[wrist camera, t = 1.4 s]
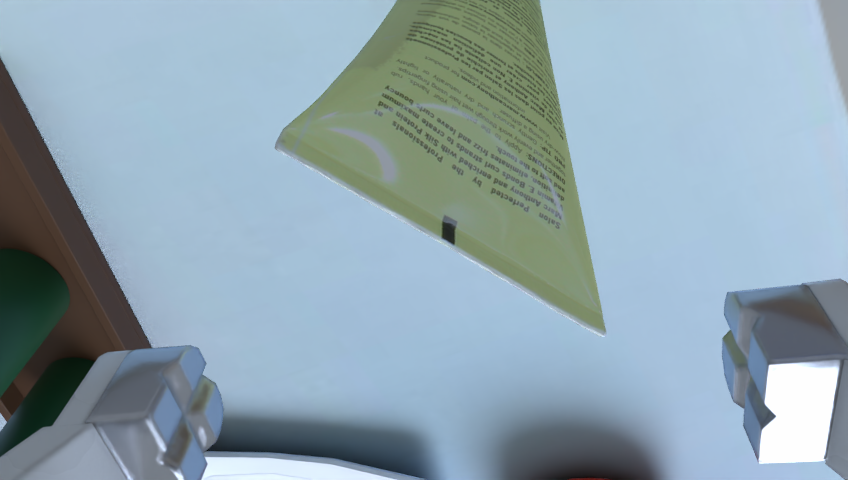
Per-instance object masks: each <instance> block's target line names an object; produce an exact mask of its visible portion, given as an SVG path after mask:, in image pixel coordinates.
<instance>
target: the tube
mask: <svg viewBox="0 0 848 480" xmlns="http://www.w3.org/2000/svg"><path fill="white" fill-rule="evenodd" d="M275 149H276V150H277V151H279V152H281V153H282V154H284V155H286V156H289V157H291V158H293V159H294V160H296V161H298V162H299V163H301V164H303V165H304V166H306V167H308V168H309V169H311V170H313V171H315V172H317V173H318V174H320V175H322V176H324V177H325V178H327V179H329V180H331V181H333V182H334V183H336V184H338V185H340V186H342V187H343V188H345V189H347V190H349V191H350V192H352V193H354V194H356V195H357V196H359V197H361V198H362V199H364V200H366V201H367V202H369V203H371V204H372V205H374V206H376V207H378V208H379V209H381V210H383V211H385V212H386V213H388V214H390V215H392V216H393V217H395V218H397V219H398V220H400V221H402V222H404V223H405V224H407V225H409V226H411V227H412V228H414V229H416V230H418V231H420V232H422V233H424V234H425V235H427V236H429V237H431V238H433V239H434V240H436V241H438V242H439V243H441V244H443V245H445V246H446V247H448V248H450V249H452V250H453V251H455V252H457V253H458V254H460V255H461V256H463V257H465V258H466V259H468V260H470V261H471V262H473V263H475V264H477V265H478V266H480V267H482V268H483V269H485V270H486V271H488V272H490V273H491V274H493V275H495V276H497V277H498V278H500V279H502V280H504V281H505V282H507V283H509V284H511V285H512V286H514V287H516V288H517V289H519V290H521V291H522V292H524V293H526V294H528V295H529V296H531V297H532V298H534V299H536V300H537V301H539V302H541V303H542V304H544V305H545V306H547V307H549V308H550V309H552V310H554V311H555V312H557V313H559V314H560V315H562V316H564V317H566V318H568V319H570V320H572V321H573V322H575V323H577V324H578V325H580V326H582V327H583V328H585V329H587V330H589V331H591V332H593V333H595V334H596V335H598V336H600V337H604V336H606V328H605V324H604V320H603V315H602V309H601V304H600V299H599V294H598V289H597V285H596V280H595V275H594V270H593V265H592V260H591V255H590V250H589V245H588V241H587V236H586V231H585V226H584V221H583V217H582V212H581V207H580V202H579V197H578V192H577V187H576V182H575V177H574V173H573V168H572V163H571V158H570V153H569V148H568V143H567V138H566V133H565V129H564V124H563V119H562V114H561V109H560V104H559V99H558V94H557V89H556V84H555V79H554V74H553V69H552V64H551V59H550V54H549V49H548V43H547V38H546V33H545V27H544V22H543V17H542V12H541V6H540V1H539V0H397V1H396V3H395V5H394V6H393V8H392V9H391V11H390V12H389V13H388V15H387V16H386V18H385V19H384V21H383V22H382V23H381V25H380V26H379V28H378V29H377V30H376V32H375V33H374V35H373V36H372V37H371V38H370V40H369V41H368V42H367V43H366V45H365V46H364V47H363V48H362V50H361V51H360V52H359V53H358V55H357V56H356V57H355V58H354V60H353V61H352V62H351V63H350V64H349V65H348V66H347V67H346V68H345V70H344V71H343V72H342V73H341V74H340V75H339V76H338V77H337V79H336V80H335V81H334V82H333V83H332V84H331V85H330V86H329V88H328V89H327V90H326V91H325V92H324V93H323V94H322V95H321V96H320V97H319V98H318V99H317V100H316V101H315V102H314V103H313V104H312V105H311V106H310V107H309V108H308V109H306V110H305V111H304V112H303V113H302V114H300V115H299V116H298V117H297V118H296V119H294V120H293V121H292V122H291V123H290V124H289V125H287V126H286V127H285V128H284V129H283V130H282V132H281V134H280V136H279V138H278V140H277V141H276V144H275Z"/></svg>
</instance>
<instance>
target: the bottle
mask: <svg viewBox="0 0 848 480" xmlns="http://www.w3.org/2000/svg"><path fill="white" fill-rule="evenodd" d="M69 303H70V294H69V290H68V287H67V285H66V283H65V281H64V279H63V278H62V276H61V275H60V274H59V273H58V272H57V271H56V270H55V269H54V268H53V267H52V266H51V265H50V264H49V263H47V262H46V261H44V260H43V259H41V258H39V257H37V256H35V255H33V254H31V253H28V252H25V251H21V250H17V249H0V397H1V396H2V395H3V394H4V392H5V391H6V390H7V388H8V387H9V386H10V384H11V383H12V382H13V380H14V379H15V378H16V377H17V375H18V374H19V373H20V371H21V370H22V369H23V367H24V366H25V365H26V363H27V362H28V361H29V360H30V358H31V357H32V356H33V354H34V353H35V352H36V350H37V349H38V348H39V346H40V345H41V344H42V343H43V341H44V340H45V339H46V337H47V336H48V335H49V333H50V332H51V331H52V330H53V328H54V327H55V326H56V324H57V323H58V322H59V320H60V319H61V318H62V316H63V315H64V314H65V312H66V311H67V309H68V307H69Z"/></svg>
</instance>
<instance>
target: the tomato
mask: <svg viewBox="0 0 848 480" xmlns="http://www.w3.org/2000/svg"><path fill="white" fill-rule="evenodd" d="M568 480H611V479H603V478H571V479H568Z"/></svg>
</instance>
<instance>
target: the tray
mask: <svg viewBox="0 0 848 480" xmlns="http://www.w3.org/2000/svg"><path fill="white" fill-rule="evenodd" d="M0 249H17V250H21V251H25V252H28V253H31V254H33V255H35V256H37V257H39V258H41V259H43V260H44V261H46V262H47V263H49V264H50V265H51V266H52V267H53V268H54V269H55V270H56V271H57V272H58V273H59V274H60V275H61V276H62V278H63V279H64V281H65V283H66V285H67V287H68V290H69V294H70V303H69V307H68V309H67V311H66V312H65V314H64V315H63V316H62V318H61V319H60V320H59V322H58V323H57V324H56V326H55V327H54V328H53V330H52V331H51V332H50V333H49V335H48V336H47V337H46V339H45V340H44V341H43V343H42V344H41V345H40V346H39V348H38V349H37V350H36V352H35V353H34V354H33V356H32V357H31V358H30V360H29V361H28V362H27V363H26V365H25V366H24V367H23V369H22V370H21V371H20V373H19V374H18V375H17V377H16V378H15V379H14V380H13V382H12V383H11V384H10V386H9V387H8V388H7V390H6V391H5V392H4V394H3V395H2V396H1V397H0V413H1V414H2V416H3V417H4V418H5V420H6V421H7V422H8V420H9V419H10V418H11V416H12V415H13V414H14V412H15V411H16V409H17V408H18V407H19V405H20V404H21V403H22V401H23V400H24V398H25V397H26V396H27V394H28V393H29V391H30V390H31V389H32V387H33V386H34V385H35V383H36V382H37V380H38V379H39V378H40V376H41V375H42V374H43V372H44V371H45V369H46V368H47V367H48V366H49V365H50V364H51V363H52V362H54V361H56V360H59V359H62V358H70V357H75V358H83V359H88V360H91V361H94V362H96V360H97V359H98V357H99V356H101V355H103V354H105V353H107V352H115V351H127V350H135V349H147V348H151V346H150V344H149V342H148V340H147V338H146V336H145V334H144V332H143V330H142V329H141V327H140V325H139V323H138V321H137V319H136V317H135V315H134V313H133V311H132V309H131V307H130V306H129V304H128V302H127V300H126V298H125V296H124V294H123V292H122V290H121V288H120V286H119V285H118V283H117V281H116V279H115V277H114V275H113V273H112V271H111V269H110V267H109V265H108V263H107V262H106V260H105V258H104V256H103V254H102V252H101V250H100V248H99V246H98V244H97V242H96V241H95V239H94V237H93V235H92V233H91V231H90V229H89V227H88V225H87V223H86V221H85V220H84V218H83V216H82V214H81V212H80V210H79V208H78V206H77V204H76V202H75V200H74V198H73V197H72V195H71V193H70V191H69V189H68V187H67V185H66V183H65V181H64V179H63V177H62V176H61V174H60V172H59V170H58V168H57V166H56V164H55V162H54V160H53V158H52V156H51V155H50V153H49V151H48V149H47V147H46V145H45V143H44V141H43V139H42V137H41V135H40V133H39V132H38V130H37V128H36V126H35V124H34V122H33V120H32V118H31V116H30V114H29V112H28V111H27V109H26V107H25V105H24V103H23V101H22V99H21V97H20V95H19V93H18V91H17V90H16V88H15V86H14V84H13V82H12V80H11V78H10V76H9V74H8V72H7V70H6V68H5V67H4V65H3V63H2V61H1V59H0Z"/></svg>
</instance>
